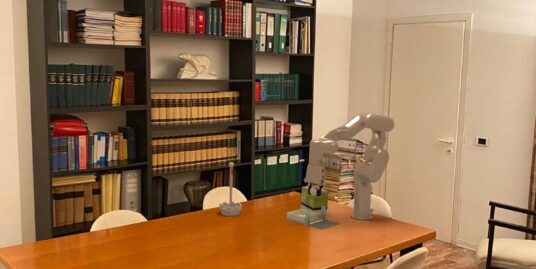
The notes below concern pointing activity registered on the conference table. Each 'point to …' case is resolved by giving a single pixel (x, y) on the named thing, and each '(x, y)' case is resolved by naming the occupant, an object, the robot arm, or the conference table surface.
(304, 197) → the tea box
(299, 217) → the tray
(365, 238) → the conference table surface
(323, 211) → the post far
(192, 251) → the conference table surface
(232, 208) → the flag stand
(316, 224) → the mat
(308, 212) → the post near
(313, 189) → the ball
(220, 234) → the conference table surface
